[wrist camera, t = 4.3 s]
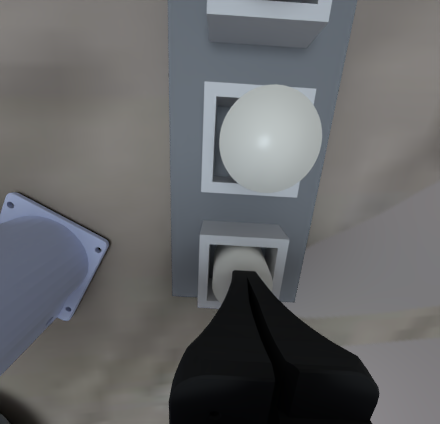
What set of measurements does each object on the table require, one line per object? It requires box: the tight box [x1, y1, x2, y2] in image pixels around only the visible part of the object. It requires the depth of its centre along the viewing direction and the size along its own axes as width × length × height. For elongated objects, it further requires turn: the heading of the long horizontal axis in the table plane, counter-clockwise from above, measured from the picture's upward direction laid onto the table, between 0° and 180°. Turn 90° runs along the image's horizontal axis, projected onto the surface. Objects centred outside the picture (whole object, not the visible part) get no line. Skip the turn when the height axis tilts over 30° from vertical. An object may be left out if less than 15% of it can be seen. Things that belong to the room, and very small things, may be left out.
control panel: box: [168, 0, 357, 309], centre depth 12 cm, size 24×10×4 cm, turn 177°
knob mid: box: [219, 84, 322, 193], centre depth 9 cm, size 4×4×4 cm
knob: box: [212, 245, 273, 304], centre depth 14 cm, size 4×4×4 cm
